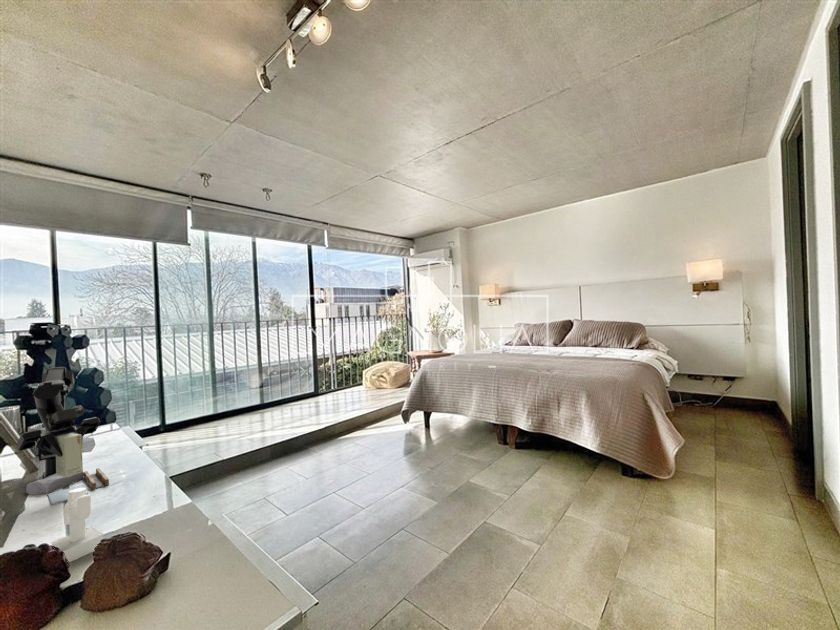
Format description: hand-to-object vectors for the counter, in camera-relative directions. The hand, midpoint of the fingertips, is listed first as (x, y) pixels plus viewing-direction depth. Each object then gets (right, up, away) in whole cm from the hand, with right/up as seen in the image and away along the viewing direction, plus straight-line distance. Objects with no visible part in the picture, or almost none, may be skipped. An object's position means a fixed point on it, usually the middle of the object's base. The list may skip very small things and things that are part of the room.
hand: (71, 453), depth 112 cm
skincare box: (-1, -7, 0) cm, 7 cm away
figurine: (+31, -12, -30) cm, 45 cm away
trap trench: (-1, -13, +10) cm, 17 cm away
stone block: (-13, -14, +7) cm, 21 cm away
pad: (-1, -13, 0) cm, 13 cm away
